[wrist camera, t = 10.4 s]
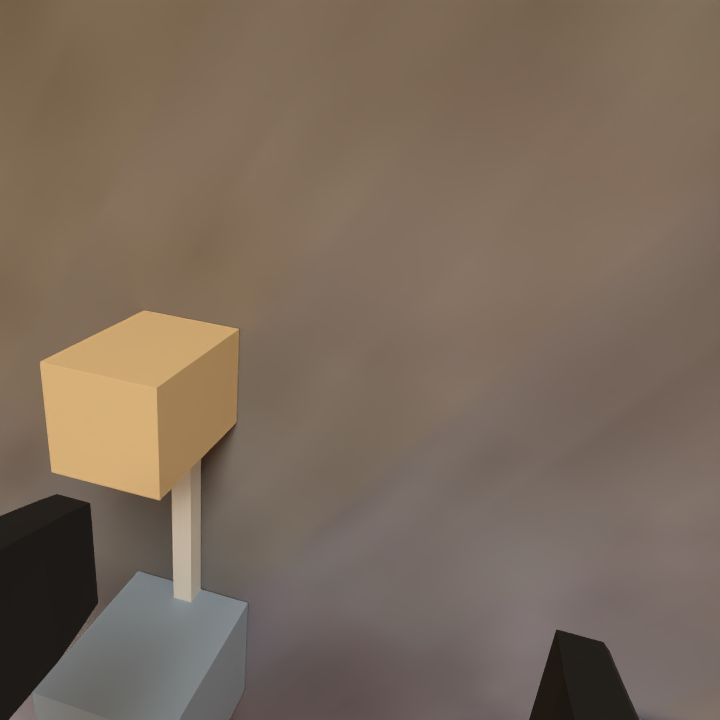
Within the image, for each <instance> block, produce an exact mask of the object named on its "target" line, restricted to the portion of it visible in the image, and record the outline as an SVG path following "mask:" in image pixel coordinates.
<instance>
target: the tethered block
mask: <svg viewBox="0 0 720 720" xmlns="http://www.w3.org/2000/svg"><path fill="white" fill-rule="evenodd" d="M238 355H239V329H237V328H232V327H226V326H221V325H216V324H211V323H206V322H201V321H196V320H191V319H186V318H181V317H176V316H170V315H165V314H160V313H155V312H150V311H145V310H144V311H142V312H140V313H138V314H136V315H134V316H132V317H130V318H128V319H126V320H124V321H122V322H120V323H118V324H116V325H114V326H112V327H109V328H107V329H105V330H103V331H101V332H99V333H97V334H95V335H93V336H91V337H89V338H87V339H85V340H83V341H81V342H79V343H77V344H75V345H73V346H71V347H69V348H67V349H65V350H63V351H61V352H59V353H57V354H55V355H53V356H51V357H49V358H47V359H45V360H43V361H41V362H40V368H41V377H42V386H43V396H44V405H45V414H46V423H47V433H48V442H49V451H50V461H51V470H52V472H53V473H57V474H61V475H65V476H68V477H72V478H76V479H80V480H84V481H87V482H91V483H95V484H99V485H103V486H106V487H110V488H114V489H118V490H122V491H125V492H129V493H133V494H137V495H141V496H144V497H148V498H152V499H156V500H161V499H162V498H163V497H164V496H165V495H166V494H167V493H168V492H169V491H170V490H171V489H172V537H173V581H171V580H167V579H164V578H160V577H157V576H153V575H150V574H147V573H143V572H140V571H138V572H137V573H136V574H135V575H134V576H133V578H132V579H131V580H130V581H129V582H128V583H127V584H126V586H125V587H124V588H123V589H122V590H121V591H120V592H119V594H118V595H117V596H116V597H115V598H114V599H113V600H112V601H111V603H110V604H109V605H108V606H107V607H106V608H105V609H104V611H103V612H102V613H101V614H100V615H99V616H98V617H97V619H96V620H95V621H94V622H93V623H92V624H91V625H90V627H89V628H88V629H87V630H86V631H85V632H84V633H83V635H82V636H81V637H80V638H79V639H78V640H77V641H76V643H75V644H74V645H73V646H72V647H71V648H70V649H69V651H68V652H67V653H66V654H65V655H64V656H63V657H62V659H61V660H60V661H59V662H58V663H57V664H56V665H55V667H54V668H53V669H52V670H51V671H50V672H49V673H48V674H47V676H46V677H45V678H44V679H43V680H42V681H41V683H40V684H39V685H38V686H37V687H36V688H35V690H34V691H33V692H32V696H33V703H34V710H35V717H36V720H230V718H231V716H232V714H233V712H234V710H235V708H236V706H237V704H238V702H239V700H240V698H241V696H242V694H243V692H244V690H245V666H246V642H247V617H248V603H246V602H243V601H240V600H236V599H233V598H229V597H226V596H222V595H219V594H215V593H212V592H209V591H205V590H202V589H201V458H202V457H203V456H204V455H205V454H206V453H207V452H208V451H209V450H210V449H211V448H212V447H213V446H214V445H215V444H216V443H217V442H218V441H219V440H220V439H221V438H222V437H223V436H224V435H225V434H226V433H227V432H228V431H229V430H230V429H231V428H232V427H233V426H234V425H235V424H236V422H237V390H238Z"/></svg>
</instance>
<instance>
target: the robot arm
mask: <svg viewBox="0 0 720 720" xmlns="http://www.w3.org/2000/svg"><path fill="white" fill-rule="evenodd" d="M97 603H98V595H97V583H96V570H95V558H94V546H93V533H92V521H91V509H90V503H88V502H84V501H80V500H77V499H73V498H69V497H66V496H62V495H58V494H56V495H53V496H50V497H48V498H45V499H42V500H39V501H37V502H34V503H32V504H29V505H26V506H24V507H21V508H19V509H17V510H14V511H12V512H9V513H7V514H4V515H2V516H0V720H9V719H10V717H11V716H12V715H13V714H14V713H15V712H16V710H17V709H18V708H19V707H20V706H21V705H22V703H23V702H24V701H25V700H26V699H27V698H28V696H29V695H30V694H31V693H32V692H33V691H34V690H35V688H36V687H37V686H38V685H39V684H40V683H41V681H42V680H43V679H44V678H45V677H46V675H47V674H48V673H49V672H50V671H51V669H52V668H53V667H54V666H55V665H56V663H57V662H58V661H59V659H60V658H61V657H62V655H63V654H64V652H65V651H66V650H67V648H68V647H69V645H70V644H71V642H72V641H73V640H74V638H75V637H76V635H77V634H78V632H79V631H80V629H81V628H82V626H83V625H84V623H85V622H86V620H87V619H88V617H89V616H90V614H91V613H92V611H93V610H94V608H95V607H96V605H97ZM529 720H640V719H639V718H638V716H637V713H636V711H635V709H634V707H633V705H632V702H631V700H630V698H629V696H628V693H627V691H626V689H625V687H624V684H623V682H622V680H621V677H620V675H619V673H618V670H617V668H616V666H615V663H614V661H613V658H612V656H611V654H610V651H609V650H608V648H607V647H606V645H605V644H604V642H601V641H597V640H593V639H590V638H586V637H582V636H578V635H575V634H571V633H567V632H564V631H560V630H556V633H555V636H554V639H553V643H552V646H551V649H550V652H549V656H548V659H547V662H546V666H545V669H544V672H543V676H542V679H541V682H540V686H539V689H538V692H537V696H536V699H535V702H534V706H533V709H532V712H531V716H530V719H529Z"/></svg>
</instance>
